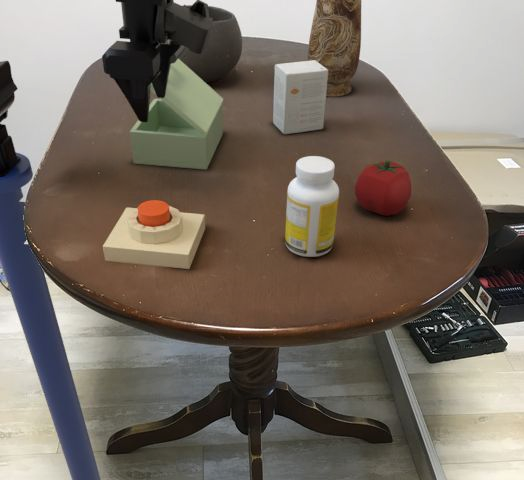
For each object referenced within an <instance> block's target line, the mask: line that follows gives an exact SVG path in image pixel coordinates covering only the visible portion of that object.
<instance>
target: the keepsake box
mask: <svg viewBox="0 0 524 480" xmlns="http://www.w3.org/2000/svg"><path fill="white" fill-rule="evenodd" d="M223 115H224V113H223V103H221V105H220V107H219V109H218V111H217V113H216V115H215V117H214V119H213V121H212V123H211V125H210V127H209V129H208V131H207V133H206V134H205V136H203V135H202V134H201V133H199V132H198V131H197V130H196V129H195V128H194V127H192V126H191V125H190V124H189V123H188V122H187V121H185V120H184V119H183V118H182V117H181V116H180V115H178V114H177V113H176V112H175V111H174V110H173V109H171V108H170V107H169V106H168V105H167V104H166V103H164V102H163V101H162V100H161V99H160V98H153V99H152V101H151V102H150V104H149V117H148V121H147V122H140V121H139V119H138V120H137V121H136V122H135V124H134V125H133V126H132V128H131V129H130V131H129V136H130V143H131V151H132V152H131V153H132V160H133V164H136V165H137V164H138V165H147V166H149V165H150V166H159V167H171V168H182V169H183V168H185V169H196V170H205V171H207V170H208V167H209V165H210V163H211V161H212V158H213V157H214V154H215V152H216V150H217V148H218V146H219V144H220V141H221V139H222V136H223V135H224V121H223Z"/></svg>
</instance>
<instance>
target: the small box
mask: <svg viewBox="0 0 524 480" xmlns="http://www.w3.org/2000/svg"><path fill="white" fill-rule="evenodd" d="M273 79H274V81H273V83H274V84H273V88H274V89H273V108H272V109H273V113H272V115H273V116H272V117H273V118H272V124H273V125H274V126H275V127H276V128H277V129H278V130H279V131H280V132H281V133H282V134H283V135H290V134H297V133H305V132H311V131H313V132H314V131H318V130H323V129H324V122H325V113H326V112H325V111H326V99H327V96H326V90H327V79H328V70H327V69H326V68H325V67H324V66H322V65H321V64H320V63H318V62H317V61H315V60H312V61H308V60H302V61H294V62H285V63H276V64H274V78H273Z"/></svg>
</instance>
